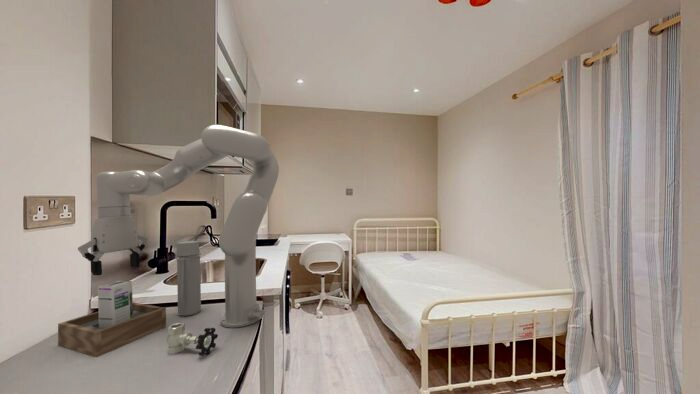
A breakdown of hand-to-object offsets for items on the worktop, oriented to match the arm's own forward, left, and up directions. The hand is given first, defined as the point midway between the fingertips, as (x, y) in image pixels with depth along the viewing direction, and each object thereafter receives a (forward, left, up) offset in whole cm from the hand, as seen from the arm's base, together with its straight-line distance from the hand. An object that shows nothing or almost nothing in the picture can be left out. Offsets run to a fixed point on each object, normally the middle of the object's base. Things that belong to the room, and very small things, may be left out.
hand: (117, 270), depth 83 cm
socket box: (0, 0, -19) cm, 19 cm away
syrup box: (0, 0, -18) cm, 18 cm away
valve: (-29, 0, -20) cm, 35 cm away
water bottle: (-6, -19, -19) cm, 27 cm away
